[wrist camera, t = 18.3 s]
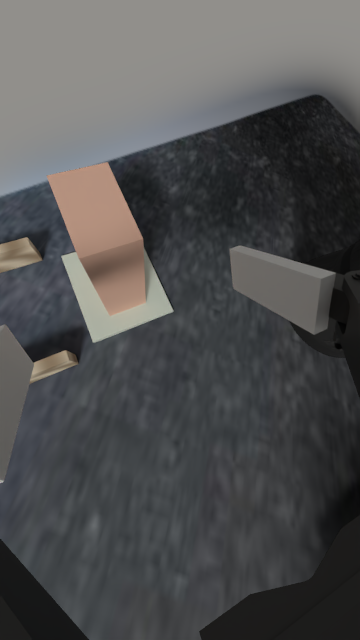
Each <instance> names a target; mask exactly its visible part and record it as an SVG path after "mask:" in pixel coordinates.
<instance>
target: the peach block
mask: <svg viewBox="0 0 360 640" xmlns="http://www.w3.org/2000/svg"><path fill="white" fill-rule="evenodd" d="M47 178H48V180H49V183H50V185H51V188H52V191H53V193H54V196H55V198H56V201H57V204H58V206H59V209H60V211H61V214H62V216H63V219H64V222H65V224H66V227H67V229H68V232H69V235H70V237H71V240H72V242H73V245H74V247H75V250H76V253H77V255H78V258H79V260H80V262H81V264H82V265H83V267H84V269H85V271H86V273H87V275H88V277H89V278H90V280H91V282H92V284H93V286H94V288H95V290H96V291H97V293H98V295H99V297H100V299H101V301H102V303H103V304H104V306H105V308H106V310H107V312H108V314H109V316H112V315H114V314H117V313H120V312H122V311H125V310H128V309H130V308H133V307H136V306H138V305H141V304H144V303H146V294H145V269H144V245H143V237H142V235H141V233H140V231H139V229H138V227H137V224H136V222H135V220H134V218H133V216H132V214H131V212H130V209H129V207H128V205H127V203H126V201H125V199H124V197H123V195H122V192H121V190H120V188H119V186H118V184H117V182H116V180H115V177H114V175H113V173H112V171H111V169H110V167H109V165H108V162H107V163H102V164H98V165H93V166H88V167H84V168H79V169H75V170H70V171H66V172H61V173H57V174H52V175H48V176H47Z"/></svg>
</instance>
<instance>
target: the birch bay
mask: <svg viewBox="0 0 360 640" xmlns="http://www.w3.org/2000/svg"><path fill="white" fill-rule="evenodd" d="M38 261H42V257H41V254H40V252H39V251H38V250H37V249H36V247H35V246H34V245H33V244H32V242H31V241H30V240H29V239H28V237H26V238H22V239H19V240H15V241H11V242H8V243H4V244H0V273H2V272H5V271H8V270H12V269H15V268H18V267H22V266H25V265H28V264H32V263H35V262H38ZM76 364H79V363H78V361H77V358H76V355H75V354H73V353H71V352H69V351H67V350H65V351H62V352H60V353H57V354H54V355H52V356H49V357H47V358H44V359H42V360H39V361H37V362H34V367H33V371H32V375H31V379H30V383H32V382H35V381H37V380H40V379H42V378H45V377H47V376H50V375H52V374H54V373H57V372H59V371H62V370H64V369H67V368H69V367H72V366H74V365H76ZM30 383H29V384H30Z"/></svg>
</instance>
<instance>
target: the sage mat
mask: <svg viewBox="0 0 360 640" xmlns="http://www.w3.org/2000/svg"><path fill="white" fill-rule="evenodd" d="M61 257H62V259H63V262H64V265H65V267H66V270H67V273H68V275H69V278H70V281H71V284H72V286H73V289H74V292H75V294H76V297H77V300H78V302H79V305H80V308H81V311H82V313H83V316H84V319H85V321H86V324H87V327H88V330H89V332H90V335H91V338H92V340H93V343H96V342H98V341H101V340H103V339H106V338H108V337H111V336H113V335H116V334H118V333H121V332H123V331H126V330H128V329H131V328H133V327H136V326H139V325H141V324H144V323H146V322H149V321H151V320H154V319H156V318H159V317H161V316H164V315H166V314H169V313H171V312H173V309H172V307H171V305H170V302H169V300H168V298H167V296H166V294H165V292H164V290H163V287H162V285H161V283H160V281H159V279H158V277H157V274H156V272H155V270H154V268H153V266H152V264H151V262H150V259H149V257H148V255H147V253H146V251H145V249H144V269H145V294H146V303H144V304H141V305H138V306H136V307H133V308H130V309H128V310H125V311H122V312H120V313H117V314H114V315H112V316H109V314H108V312H107V310H106V308H105V306H104V304H103V303H102V301H101V299H100V297H99V295H98V293H97V291H96V290H95V288H94V286H93V284H92V282H91V280H90V278H89V277H88V275H87V273H86V271H85V269H84V267H83V265H82V264H81V262H80V260H79V258H78V255H77V253H76V252H74V253H70V254H67V255H63V256H61Z"/></svg>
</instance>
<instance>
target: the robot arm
mask: <svg viewBox="0 0 360 640" xmlns="http://www.w3.org/2000/svg"><path fill="white" fill-rule="evenodd" d="M230 259H231V270H232V281H233V289H235V290H237V291H238V292H240V293H242V294H244V295H245V296H247V297H249V298H251V299H252V300H254V301H256V302H258V303H259V304H261V305H263V306H265V307H266V308H268V309H270V310H272V311H273V312H275V313H277V314H279V315H280V316H282V317H284V318H286V319H287V320H289V321H290V323H291V325H292V327H293V328H294V330H295V331H296V333H297V334H298V335H299V336H300V337H301V338H302V339H303V340H304V341H305V342H306V343H307V344H308V345H309V346H311V347H312V348H314V349H315V350H317V351H319V352H321V353H323V354H325V355H328V356H332V357H338V358H346V360H347V363H348V366H349V369H350V372H351V375H352V377H353V380H354V383H355V386H356V389H357V392H358V395H359V397H360V240H359V241H357V242H356V243H355V244H353V245H352V246H350V247H349V248H346V249H342V250H339V251H336V252H333V253H330V254H327V255H324V256H321V257H318V258H315V259H313V260H311V261H309V262H307V263H306V264H303V263H300V262H296V261H293V260H289V259H286V258H282V257H279V256H275V255H272V254H268V253H265V252H261V251H258V250H254V249H251V248H247V247H244V246H237V247H234V248H231V249H230ZM33 367H34V363H33V362H32V361H31V359H30V358H29V356H28V355H27V354H26V352H25V351H24V349H23V348H22V347H21V345H20V344H19V342H18V341H17V340H16V338H15V337H14V335H13V334H12V333H11V331H10V330H9V329H8V327H7V326H6V324H5V325H2V326H0V483H2V482H4V480H5V476H6V472H7V468H8V464H9V460H10V456H11V453H12V449H13V445H14V441H15V437H16V433H17V429H18V425H19V421H20V418H21V414H22V410H23V406H24V402H25V398H26V394H27V390H28V387H29V383H30V379H31V375H32V371H33ZM199 632H200V636H201V639H202V640H360V515H359V516H358V517H356V518H355V519H353V520H352V521H351V522H349V523H348V524H347V525H345V526H344V527H342V528H341V529H340V531H339V533H338V534H337V536H336V538H335V540H334V541H333V543H332V545H331V546H330V548H329V550H328V551H327V553H326V555H325V557H324V558H323V560H322V562H321V563H320V565H319V567H318V569H317V570H316V572H315V574H314V575H313V576H312V578H310V579H309V580H307V581H305V582H301V583H296V584H292V585H288V586H284V587H279V588H275V589H271V590H267V591H262V592H258V593H254V594H250V595H249V596H247V597H246V598H245V599H243V600H242V601H240V602H239V603H238V604H236V605H235V606H234V607H232V608H231V609H229V610H228V611H227V612H225V613H224V614H223V615H221V616H220V617H218V618H217V619H216V620H214V621H213V622H212V623H210V624H209V625H207V626H206V627H205V628H203V629H202V630H201V631H199ZM0 640H89V639H88V638H87V637H86V636H85V635H84V634H83V632H82V631H81V630H80V629H79V628H78V627H77V626H76V624H75V623H74V622H73V621H72V620H71V619H70V618H69V616H68V615H67V614H66V613H65V612H64V611H63V610H62V608H61V607H60V606H59V605H58V604H57V603H56V602H55V600H54V599H53V598H52V597H51V596H50V595H49V594H48V593H47V591H46V590H45V589H44V588H43V587H42V586H41V585H40V583H39V582H38V581H37V580H36V579H35V578H34V577H33V575H32V574H31V573H30V572H29V571H28V570H27V569H26V567H25V566H24V565H23V564H22V563H21V562H20V561H19V560H18V558H17V557H16V556H15V555H14V554H13V553H12V552H11V550H10V549H9V548H8V547H7V546H6V545H5V544H4V542H3V541H2V540H1V539H0Z"/></svg>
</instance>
